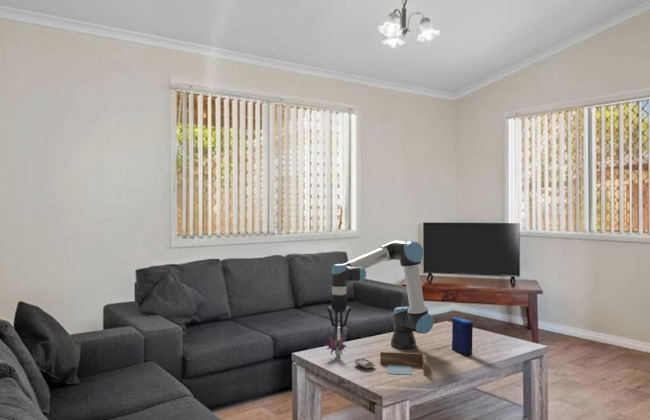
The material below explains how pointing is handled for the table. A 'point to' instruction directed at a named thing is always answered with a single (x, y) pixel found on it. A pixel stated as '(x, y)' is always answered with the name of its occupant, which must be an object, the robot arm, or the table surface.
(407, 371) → the mat
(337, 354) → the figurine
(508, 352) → the table surface
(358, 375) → the table surface
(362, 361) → the stone
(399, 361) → the corner walls
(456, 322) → the book
